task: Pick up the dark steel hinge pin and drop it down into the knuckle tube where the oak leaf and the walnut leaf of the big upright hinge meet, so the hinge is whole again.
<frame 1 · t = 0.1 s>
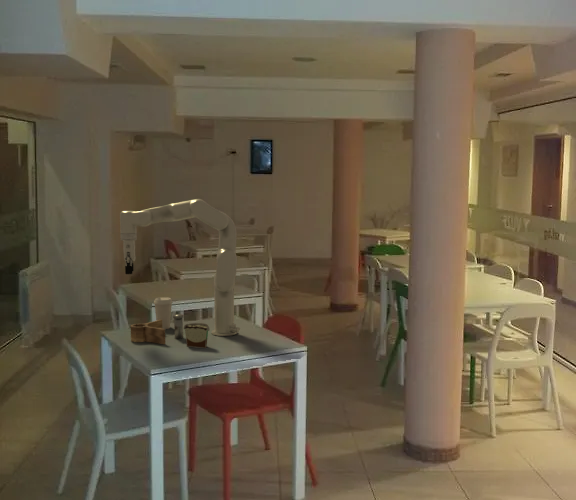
hand: (129, 272, 344), 31 cm above the table, tool pointing down, fingers open, 9 cm apart
hinge: (139, 340, 341), on the table
food container: (199, 346, 330), on the table
coffee cup: (163, 328, 367), on the table
pin: (178, 337, 345), on the table
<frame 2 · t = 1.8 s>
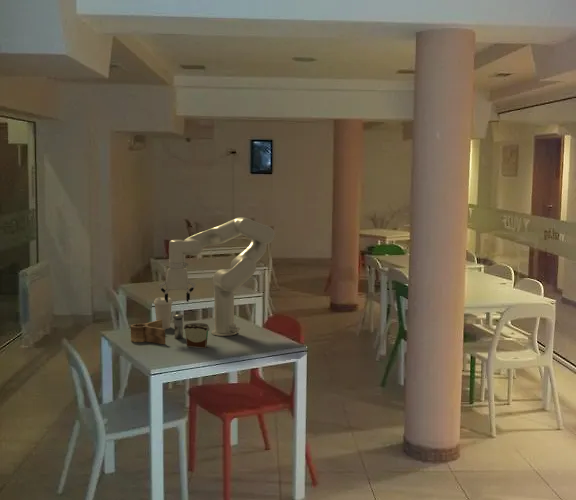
hand: (177, 301, 343), 18 cm above the table, tool pointing down, fingers open, 9 cm apart
nothing on the table moved.
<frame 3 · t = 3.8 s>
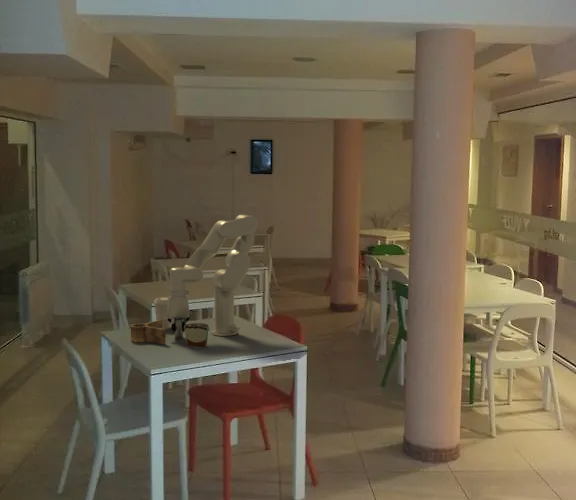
hand: (178, 331, 344), 3 cm above the table, tool pointing down, fingers closed on pin, 4 cm apart
pin: (178, 337, 345), on the table, touching gripper
everything else where it was.
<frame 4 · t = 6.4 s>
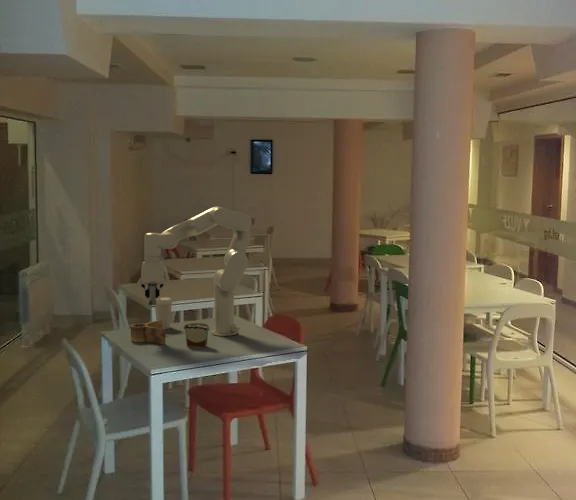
hand: (152, 297, 340), 20 cm above the table, tool pointing down, fingers closed on pin, 4 cm apart
pin: (152, 304, 340), point 17 cm above the table, touching gripper
everything else where it was.
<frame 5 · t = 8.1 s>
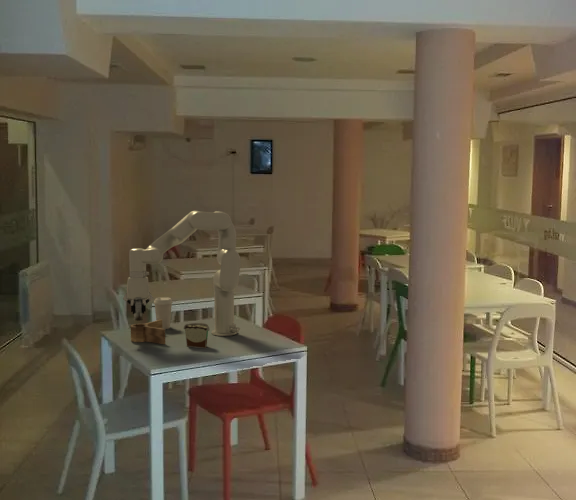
hand: (138, 312, 339), 13 cm above the table, tool pointing down, fingers closed on pin, 4 cm apart
pin: (138, 319, 339), point 10 cm above the table, touching gripper
everything else where it was.
when the fingers open (9 cm above the table, at t = 9.3 s): pin drops 3 cm, on the table.
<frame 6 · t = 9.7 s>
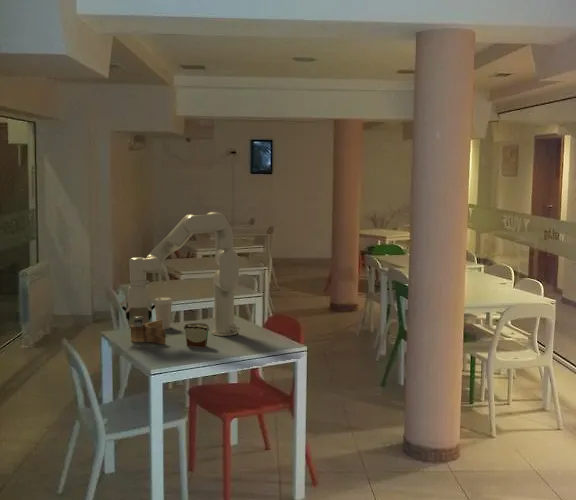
hand: (139, 319, 339), 10 cm above the table, tool pointing down, fingers open, 9 cm apart
pin: (138, 340, 341), on the table
everything else where it was.
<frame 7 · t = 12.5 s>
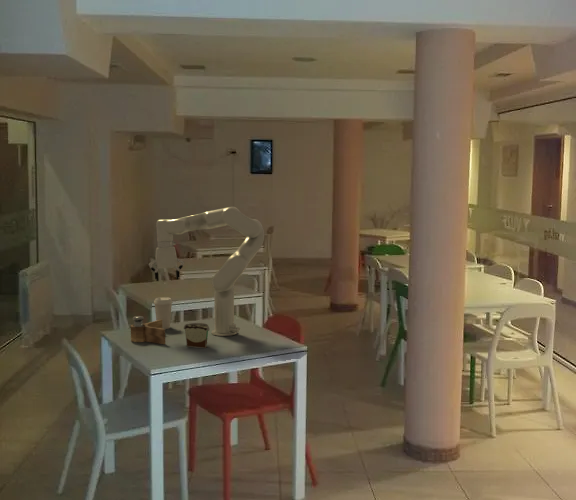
hand: (167, 279, 352), 27 cm above the table, tool pointing down, fingers open, 9 cm apart
nothing on the table moved.
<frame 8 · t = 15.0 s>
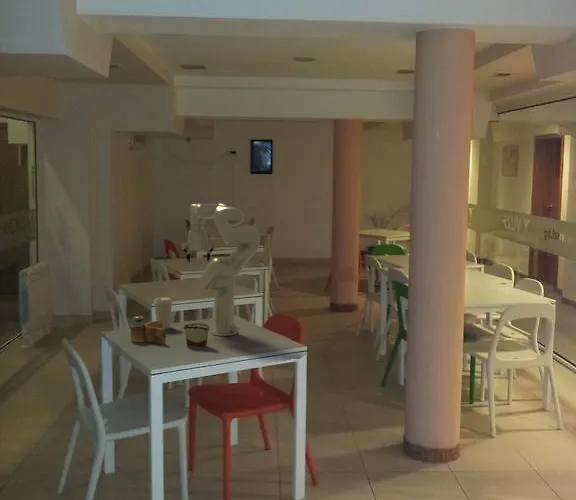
hand: (198, 261, 369), 33 cm above the table, tool pointing down, fingers open, 9 cm apart
nothing on the table moved.
at the end: pin 0.4 cm off-centre on the hinge, point 0.0 cm above the hinge's base; pin tilted 0°; the gripper is holding nothing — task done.
